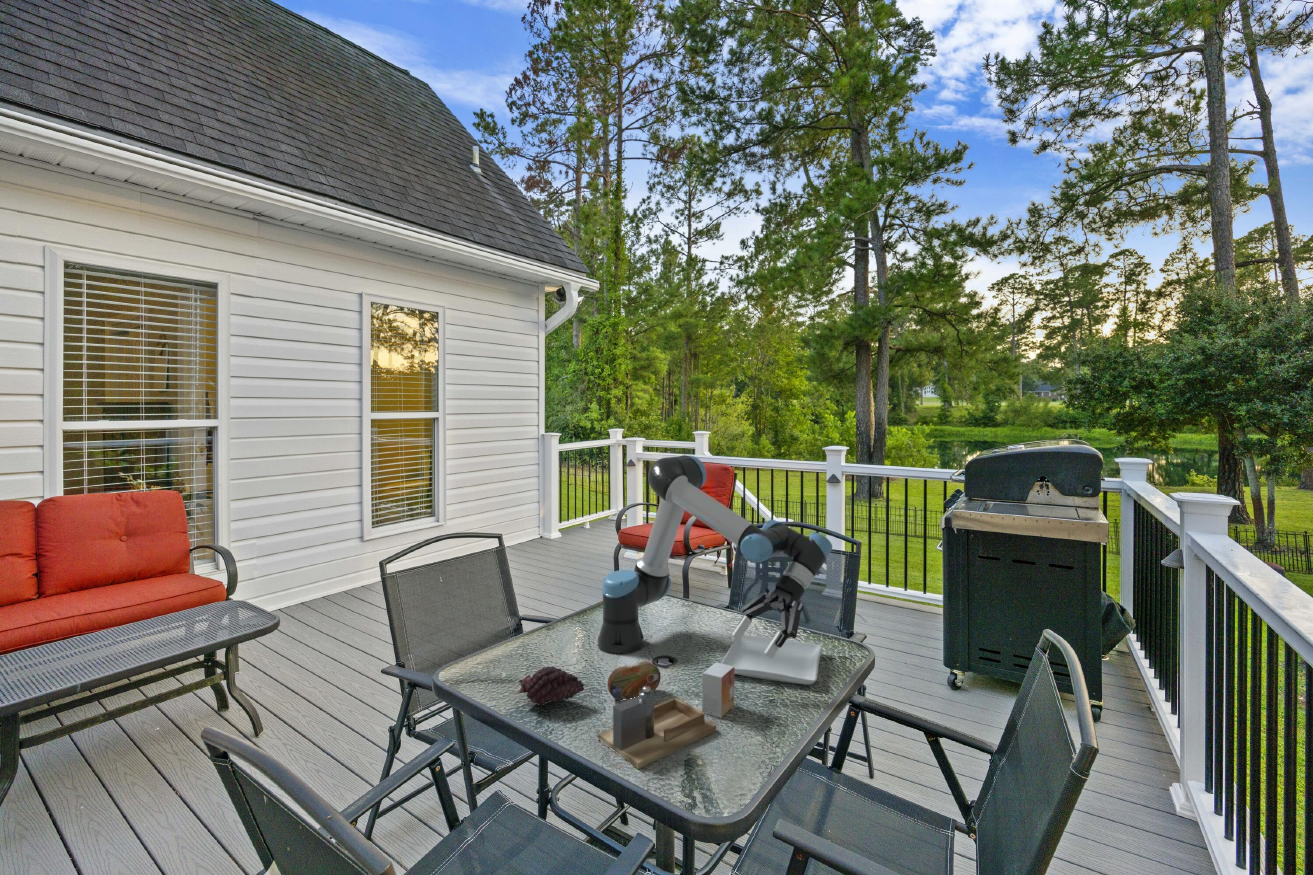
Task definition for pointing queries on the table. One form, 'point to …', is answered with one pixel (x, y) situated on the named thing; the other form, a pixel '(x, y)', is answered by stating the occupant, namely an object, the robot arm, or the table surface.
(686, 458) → the robot arm
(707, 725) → the tan wooden flat tray
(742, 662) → the square plate
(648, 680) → the tin
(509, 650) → the table surface
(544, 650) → the table surface
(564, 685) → the pine cone
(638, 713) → the hinge leaf
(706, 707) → the small box
